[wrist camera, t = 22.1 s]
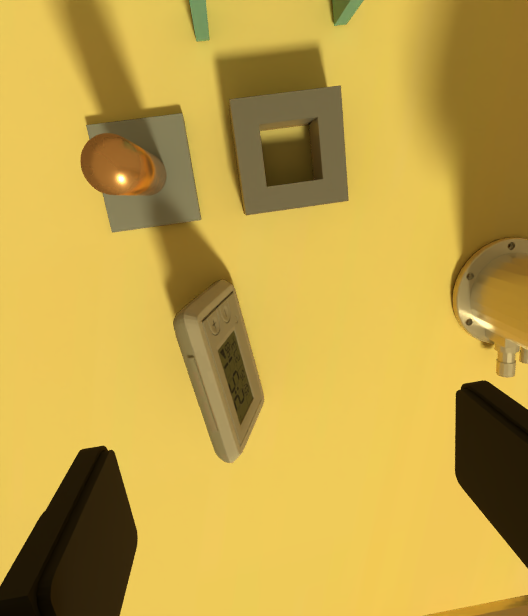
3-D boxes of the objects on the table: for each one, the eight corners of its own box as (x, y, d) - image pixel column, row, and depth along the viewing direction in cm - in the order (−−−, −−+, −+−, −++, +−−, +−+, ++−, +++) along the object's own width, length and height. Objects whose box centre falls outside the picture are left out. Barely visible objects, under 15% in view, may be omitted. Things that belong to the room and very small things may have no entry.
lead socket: (337, 200, 42) (348, 200, 38) (243, 213, 41) (246, 215, 37) (329, 96, 39) (340, 85, 35) (229, 109, 38) (229, 99, 34)
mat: (201, 219, 41) (200, 219, 40) (114, 231, 40) (112, 232, 39) (182, 114, 38) (182, 113, 37) (89, 126, 37) (86, 125, 37)
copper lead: (170, 192, 39) (146, 190, 27) (129, 198, 39) (89, 198, 27) (161, 150, 38) (133, 129, 26) (120, 155, 38) (73, 137, 26)
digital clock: (263, 406, 48) (274, 463, 37) (188, 412, 47) (178, 472, 37) (257, 275, 43) (268, 299, 33) (174, 280, 42) (159, 306, 32)
